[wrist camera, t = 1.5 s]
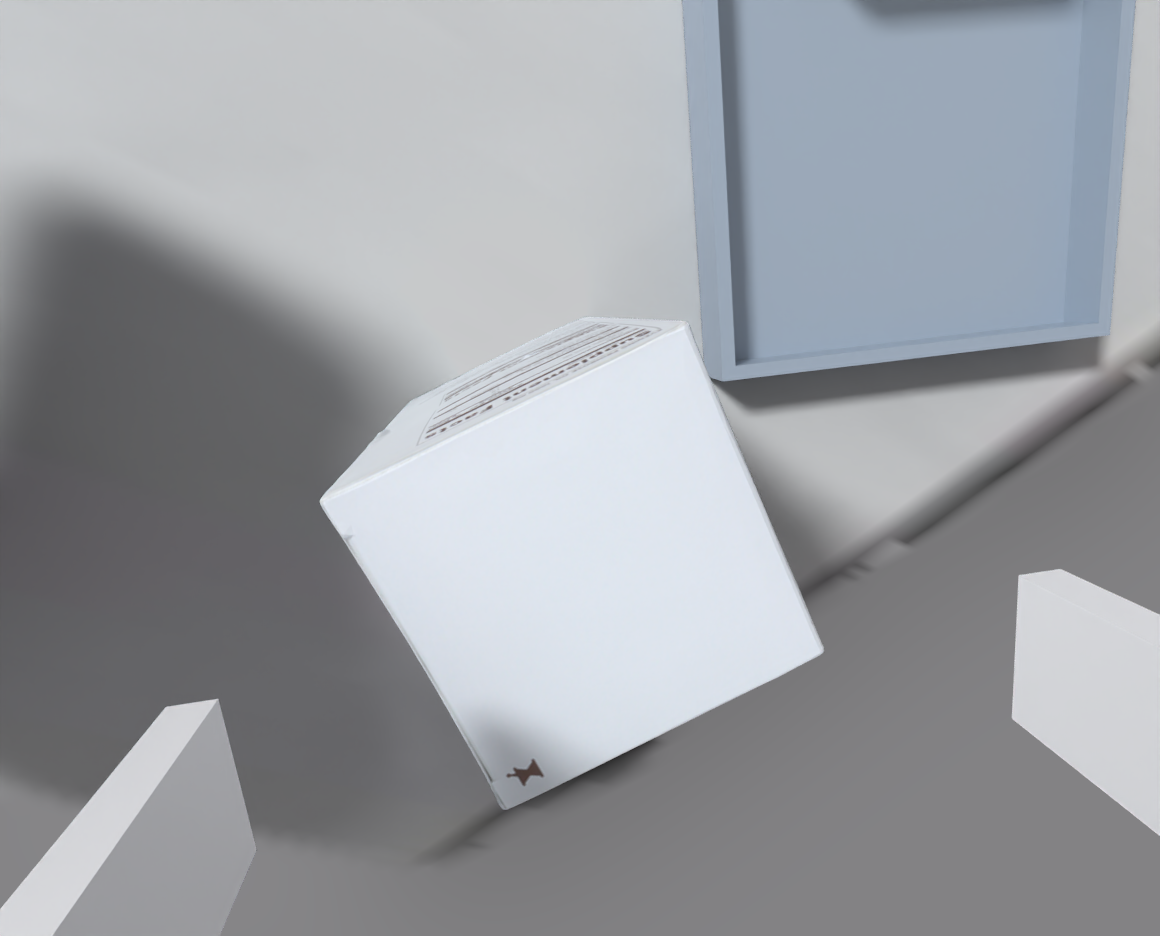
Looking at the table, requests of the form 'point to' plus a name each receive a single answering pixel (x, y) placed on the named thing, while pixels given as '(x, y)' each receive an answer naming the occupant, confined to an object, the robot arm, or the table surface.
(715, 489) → the supplement box
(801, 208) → the blue-grey tray
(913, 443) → the table surface
